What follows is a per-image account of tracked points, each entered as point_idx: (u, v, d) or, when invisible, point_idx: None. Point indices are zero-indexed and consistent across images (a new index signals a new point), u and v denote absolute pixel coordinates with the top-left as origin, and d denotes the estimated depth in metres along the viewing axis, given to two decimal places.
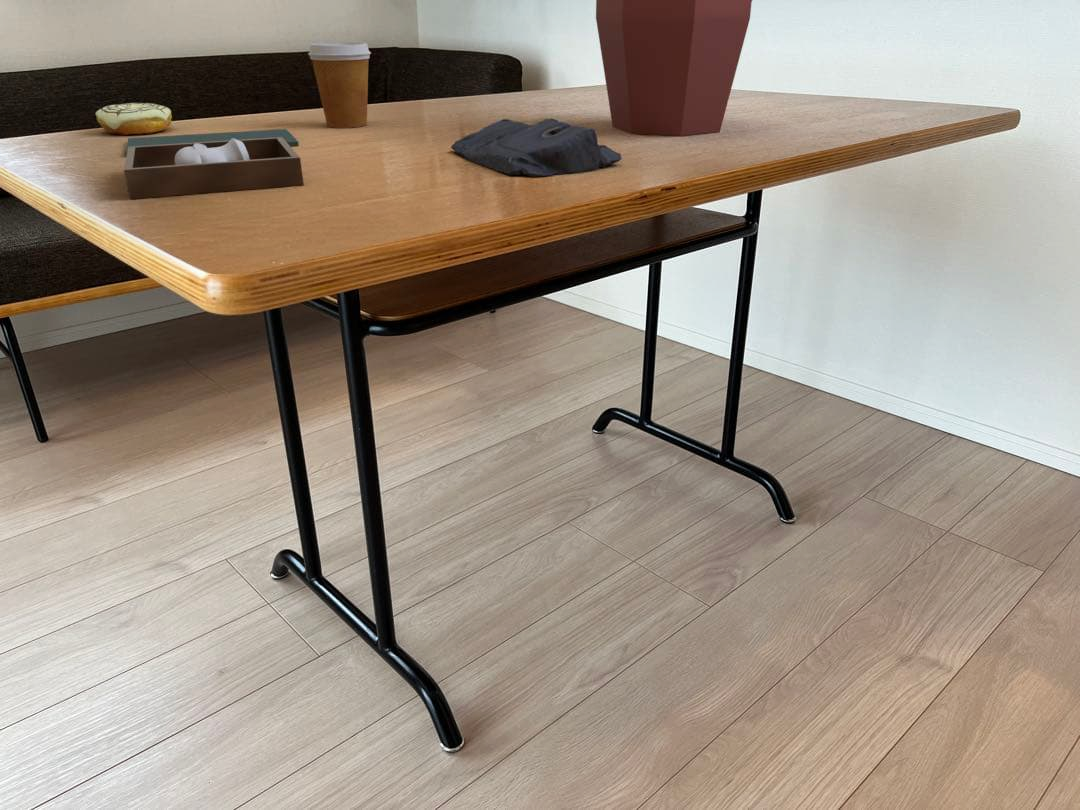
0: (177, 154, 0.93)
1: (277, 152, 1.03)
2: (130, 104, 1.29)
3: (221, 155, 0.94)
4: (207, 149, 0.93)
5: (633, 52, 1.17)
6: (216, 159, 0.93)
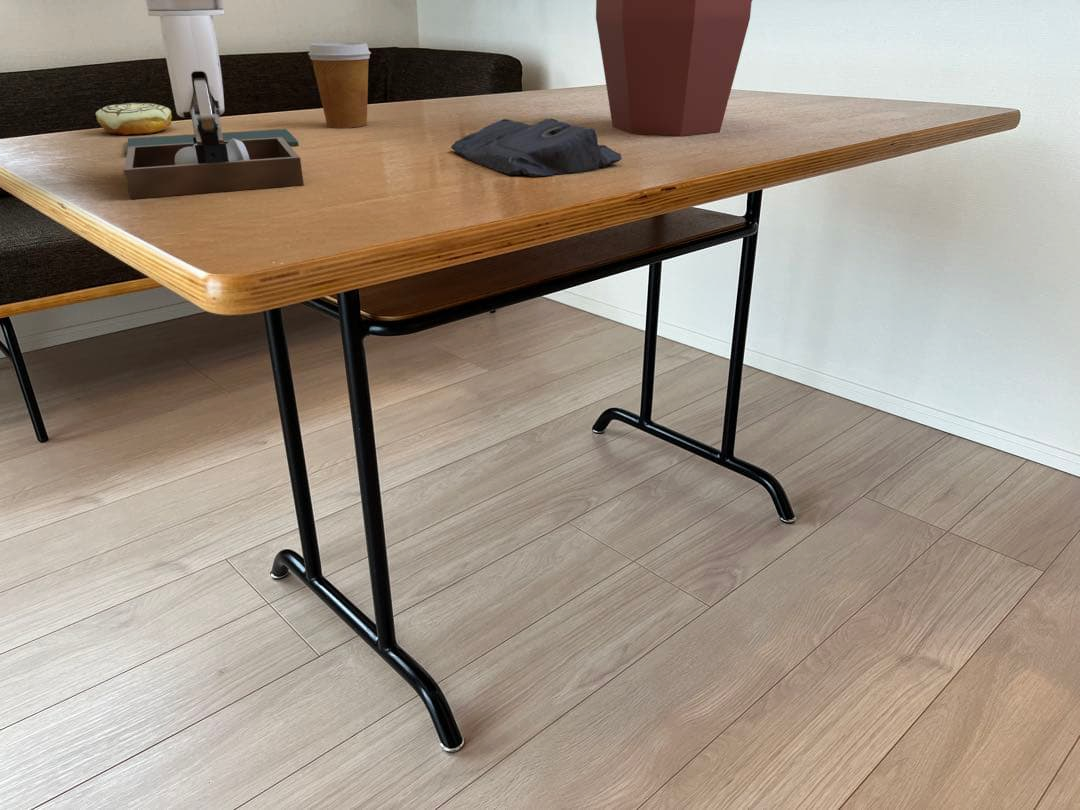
0: (177, 154, 0.93)
1: (277, 152, 1.03)
2: (130, 104, 1.29)
3: None
4: None
5: (633, 52, 1.17)
6: None
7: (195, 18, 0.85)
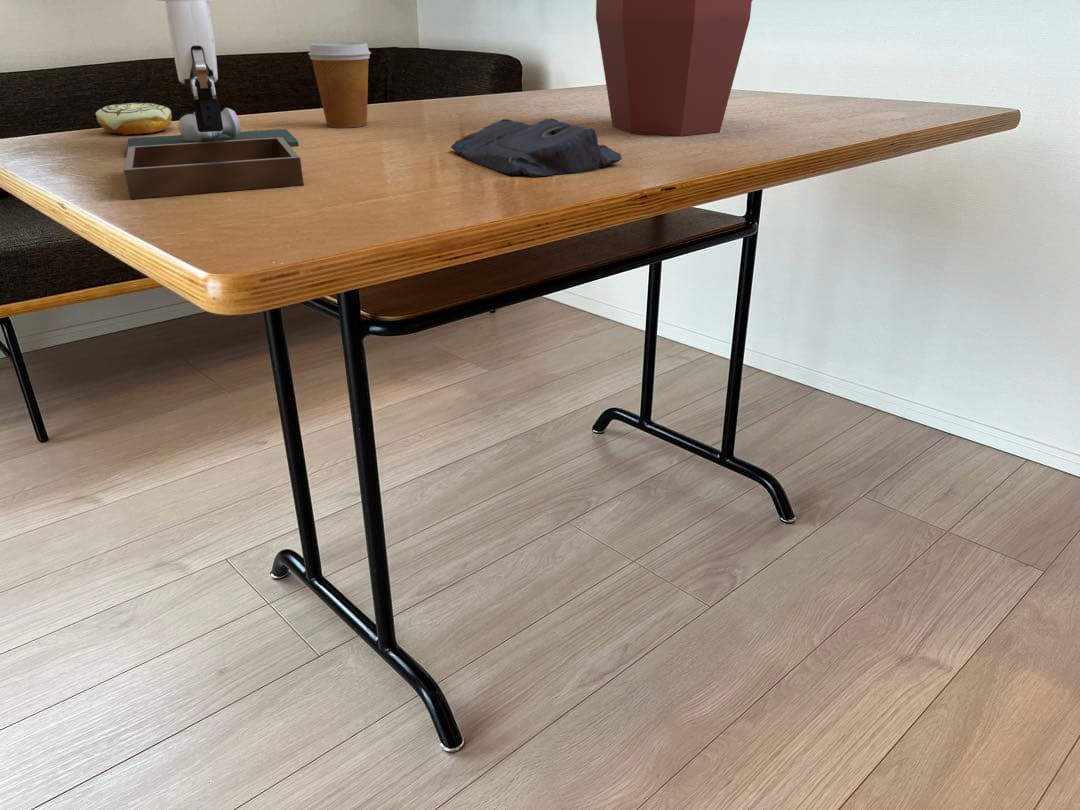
0: (180, 120, 1.14)
1: (277, 152, 1.03)
2: (130, 104, 1.29)
3: None
4: None
5: (633, 52, 1.17)
6: None
7: (194, 3, 1.05)
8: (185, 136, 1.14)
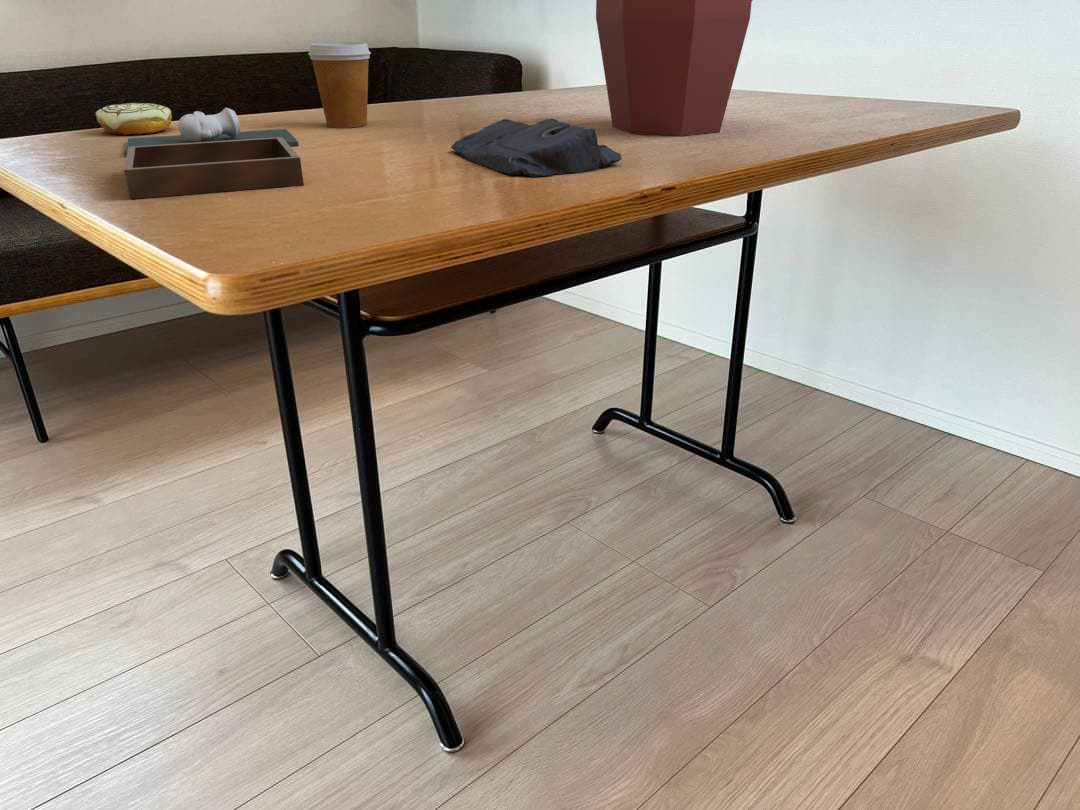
0: (180, 120, 1.14)
1: (277, 152, 1.03)
2: (130, 104, 1.29)
3: (216, 121, 1.14)
4: (205, 116, 1.14)
5: (633, 52, 1.17)
6: (212, 124, 1.14)
7: None
8: (185, 136, 1.14)
